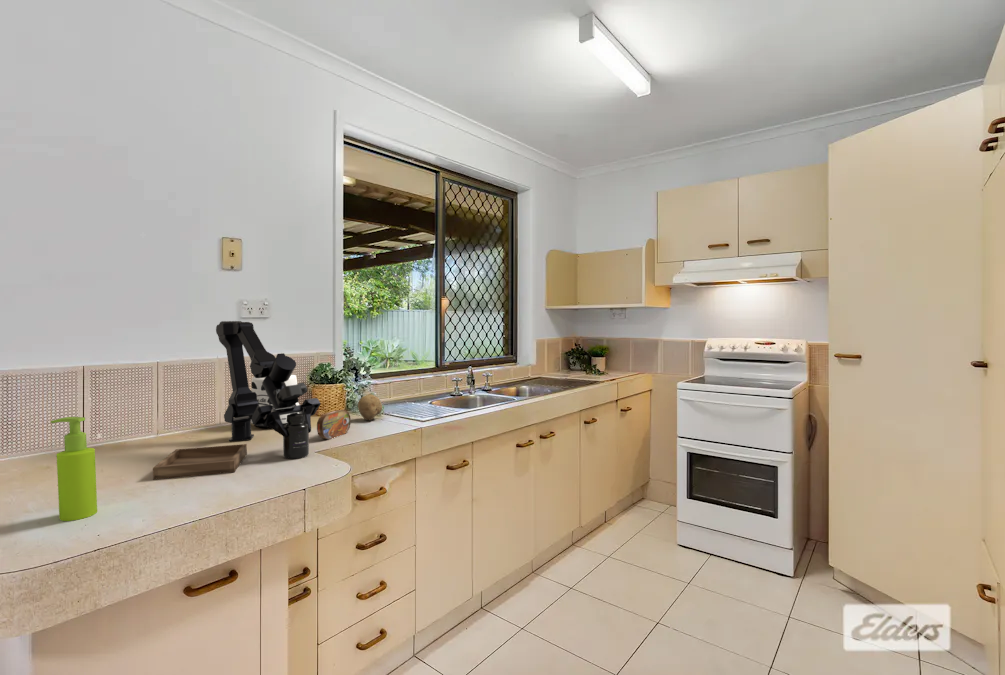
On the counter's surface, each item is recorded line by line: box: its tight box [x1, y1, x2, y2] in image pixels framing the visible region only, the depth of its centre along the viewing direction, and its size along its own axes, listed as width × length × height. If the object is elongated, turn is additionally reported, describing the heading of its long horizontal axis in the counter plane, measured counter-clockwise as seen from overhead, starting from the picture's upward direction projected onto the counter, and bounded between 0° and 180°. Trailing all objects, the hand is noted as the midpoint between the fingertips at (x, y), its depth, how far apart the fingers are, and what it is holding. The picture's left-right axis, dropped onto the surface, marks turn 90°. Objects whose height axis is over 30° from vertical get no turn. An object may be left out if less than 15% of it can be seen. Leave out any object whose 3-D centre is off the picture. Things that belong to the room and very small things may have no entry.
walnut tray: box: [152, 443, 248, 481], centre depth 135 cm, size 18×18×3 cm
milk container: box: [251, 374, 300, 428], centre depth 186 cm, size 17×17×18 cm
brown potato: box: [357, 393, 383, 421], centre depth 194 cm, size 9×9×10 cm
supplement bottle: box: [282, 413, 310, 460], centre depth 144 cm, size 7×7×12 cm
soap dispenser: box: [49, 416, 98, 522], centre depth 101 cm, size 6×7×20 cm
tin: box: [316, 409, 352, 440], centre depth 168 cm, size 15×3×8 cm, turn 161°
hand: (298, 434), depth 143 cm, fingers closed on supplement bottle, 7 cm apart
